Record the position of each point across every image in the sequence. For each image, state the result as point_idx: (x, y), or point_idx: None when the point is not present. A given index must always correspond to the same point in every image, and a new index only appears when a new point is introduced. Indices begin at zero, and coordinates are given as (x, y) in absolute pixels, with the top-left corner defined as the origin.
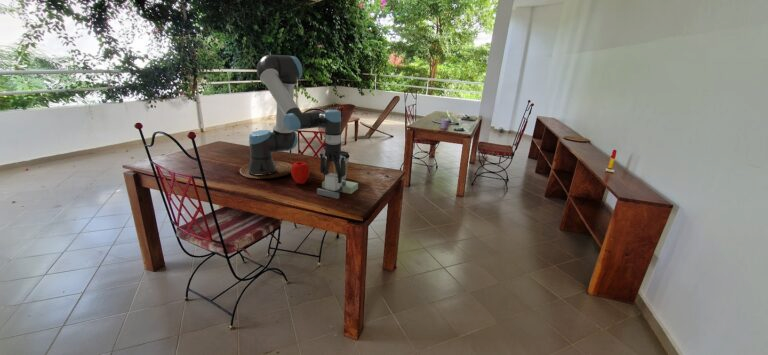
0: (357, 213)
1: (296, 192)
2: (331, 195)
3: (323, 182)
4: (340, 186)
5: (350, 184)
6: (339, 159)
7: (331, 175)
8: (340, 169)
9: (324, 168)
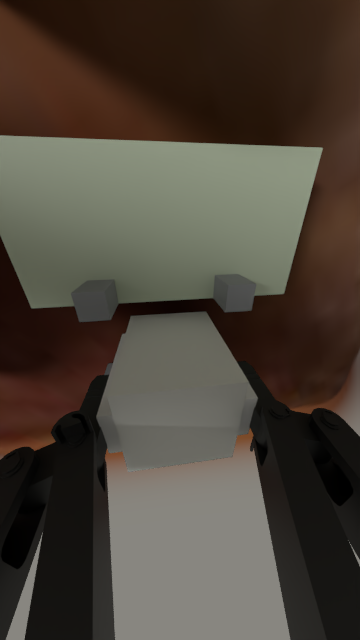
0: (319, 403)
1: (17, 404)
2: None
3: (47, 307)
4: (200, 296)
5: (261, 227)
6: None
7: (175, 441)
8: (330, 515)
9: (10, 521)
